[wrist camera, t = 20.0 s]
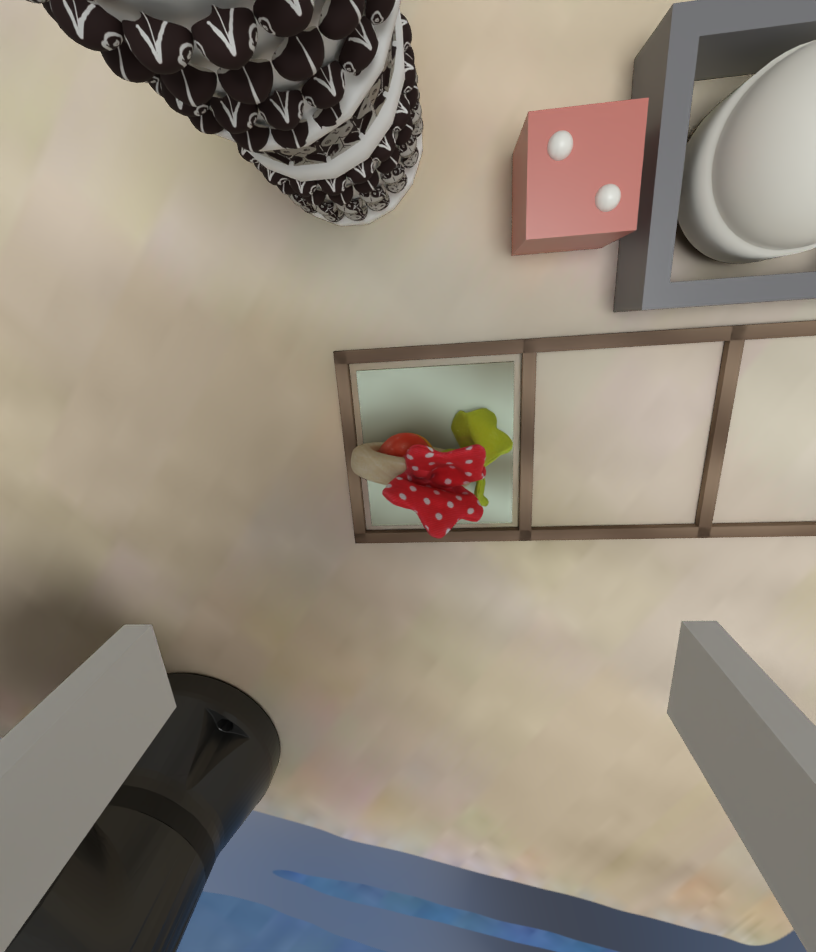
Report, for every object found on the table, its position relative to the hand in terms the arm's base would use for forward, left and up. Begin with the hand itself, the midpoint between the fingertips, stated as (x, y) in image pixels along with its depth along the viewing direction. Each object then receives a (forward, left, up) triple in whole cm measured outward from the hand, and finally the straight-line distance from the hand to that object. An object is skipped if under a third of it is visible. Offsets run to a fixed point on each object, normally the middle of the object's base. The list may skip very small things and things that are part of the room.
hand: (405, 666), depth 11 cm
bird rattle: (0, 0, -20) cm, 20 cm away
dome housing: (+14, -14, -20) cm, 28 cm away
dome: (+14, -17, -19) cm, 29 cm away
